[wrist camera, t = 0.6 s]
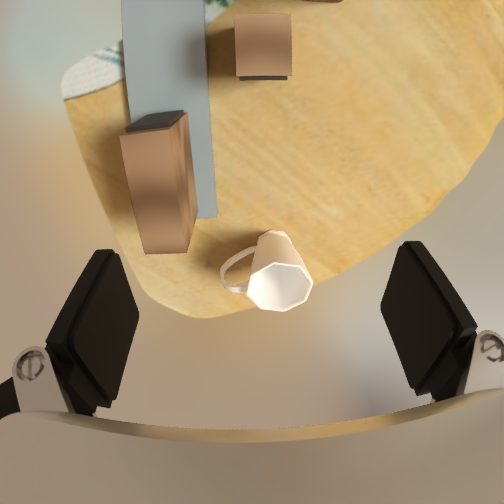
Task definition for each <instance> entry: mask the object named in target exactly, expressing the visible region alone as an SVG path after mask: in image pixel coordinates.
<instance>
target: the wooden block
mask: <svg viewBox="0 0 504 504" xmlns="http://www.w3.org/2000/svg"><path fill="white" fill-rule="evenodd" d="M308 1H323V2H336V3H338V2H341V1H343V0H308Z"/></svg>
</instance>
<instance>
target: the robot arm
mask: <svg viewBox="0 0 504 504" xmlns="http://www.w3.org/2000/svg"><path fill="white" fill-rule="evenodd" d="M381 313H382V315H383V318H384V320H385V322H386V325H387V327H388V330H389V332H390V335H391V337H392V340H393V342H394V345H395V347H396V350H397V353H398V356H399V358H400V361H401V364H402V366H403V369H404V372H405V375H406V377H407V380H408V383H409V385H410V387H411V388H412V389H414V390H415V393H416V395H417V396H419V395H423V394H427V393H431V395H432V400H431V402H430V404H427V405H423V406H420V407H415V408H411V409H408V410H403V411H399V412H394V413H390V414H385V415H380V416H375V417H370V418H364V419H358V420H352V421H345V422H338V423H331V424H323V425H313V426H304V427H291V428H276V429H252V430H251V429H250V430H218V429H217V430H216V429H191V428H176V427H164V426H154V425H145V424H137V423H130V422H122V421H115V420H108V419H103V418H98V417H97V415H96V413H95V412H96V408H97V406H100V407H106V408H110V407H111V403H112V400H115V399H116V398H117V395H118V391H119V387H120V383H121V379H122V375H123V372H124V368H125V365H126V361H127V357H128V354H129V350H130V347H131V344H132V340H133V336H134V333H135V330H136V327H137V324H138V320H139V311H138V308H137V306H136V303H135V300H134V297H133V294H132V292H131V289H130V286H129V283H128V280H127V277H126V274H125V271H124V268H123V265H122V262H121V259H120V256H119V254H117V253H115V252H114V251H113V250H112V249H102V250H96V251H95V252H94V254H93V255H92V257H91V259H90V260H89V262H88V264H87V265H86V267H85V269H84V270H83V272H82V274H81V275H80V277H79V279H78V281H77V282H76V284H75V286H74V287H73V289H72V291H71V293H70V295H69V296H68V298H67V300H66V302H65V304H64V306H63V308H62V309H61V311H60V313H59V315H58V317H57V319H56V321H55V323H54V325H53V327H52V329H51V331H50V333H49V335H48V337H47V339H46V343H47V345H46V348H45V349H43V348H42V347H38V346H33V347H30V348H27V349H25V350H24V351H22V352H21V353H20V354H19V355H18V356H17V358H16V360H15V362H14V364H13V368H12V375H13V377H11V378H10V379H8V380H6V381H5V382H3V383H2V384H0V504H504V339H503V338H502V337H501V336H500V335H499V334H497V333H496V332H493V331H490V330H484V331H482V332H480V333H479V334H478V335H477V333H476V331H475V330H476V328H477V327H478V326H477V324H476V322H475V321H474V319H473V317H472V316H471V314H470V312H469V311H468V309H467V307H466V306H465V304H464V303H463V301H462V299H461V298H460V296H459V295H458V293H457V292H456V290H455V289H454V287H453V286H452V284H451V283H450V281H449V280H448V278H447V277H446V275H445V274H444V272H443V271H442V270H441V268H440V267H439V265H438V264H437V263H436V261H435V260H434V258H433V257H432V256H431V254H430V253H429V251H428V250H427V249H426V247H425V246H424V245H423V243H422V242H420V241H405V242H404V243H403V245H402V246H400V247H399V248H398V251H397V254H396V258H395V261H394V264H393V268H392V271H391V274H390V278H389V281H388V283H387V286H386V290H385V293H384V295H383V298H382V301H381Z"/></svg>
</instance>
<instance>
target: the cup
mask: <svg viewBox="0 0 504 504" xmlns="http://www.w3.org/2000/svg"><path fill="white" fill-rule="evenodd" d="M253 252H255V253H254V258H253V262H252V267H251V272H250V278H249V281H247V282H244V283H241V284H238V285H230V284H228V283H227V282H226V281H224V274H225V272H226V270H227V269H228V268H229V267H230V266H231V265H232V264H234V263H235V262H237V261H238V260H240V259H241V258H243V257H245V256H247V255H249V254H251V253H253ZM220 277H221V280H222V283H223V286H224V288H226V289H227V290H228V291H230V292H235V293H237V292H245V291H247V293H246V295H247V296H248V297H249V298H250V299H251V300H252V301H253V302H254V303H255V304H256V305H257V306H258V307H259V308H260V309H265V310H274V311H287V310H289V309H291V308H293V307H295V306H297V305H299V304H301V303H303V302H305V301H306V300H307V297H308V295H309V293H310V290H311V288H312V285H313V283H314V282H313V280H312V278H311V276H310V274H309V272H308V271H307V269H306V267H305V265H304V263H303V261H302V259H301V256H300V255H299V254H298V252H297V251H296V249H295V248H294V247H293V245H292V242H291V240H290V239H289V237H288V236H287V235H286V233H285V232H283V231H277V230H269V231H267V232H266V233H264V234H262V235H260V236H259V238H258V242H257V245H255V246H251V247H249V248H246V249H244V250H242V251H241V252H239V253H237V254H236V255H234V256H232V257H231V258H229V259H228V260H227V261H226V262H225V263H224V264H223V265H222V267H221V269H220Z"/></svg>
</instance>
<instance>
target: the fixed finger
mask: <svg viewBox="0 0 504 504" xmlns="http://www.w3.org/2000/svg"><path fill="white" fill-rule="evenodd" d="M125 129H126V132H125V133H123V134H122V135H121V136H119V138H120V144H121V150H122V156H123V161H124V167H125V172H126V177H127V182H128V187H129V191H130V196H131V200H132V205H133V209H134V214H135V218H136V222H137V226H138V230H139V234H140V238H141V242H142V246H143V249H144V253H145V254H172V253H187V251H188V247H189V243H190V239H191V235H192V232H193V228H194V224H195V220H196V217H197V213H198V204H197V196H196V187H195V178H194V169H193V160H192V150H191V140H190V130H189V119H188V112H184V110H177V111H168V112H160V113H153V114H147V115H145V116H144V117H142V118H141V119H139V120H137V121H136V122H134V123H133V124H131V125H129V126H128V127H126V128H125Z"/></svg>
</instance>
